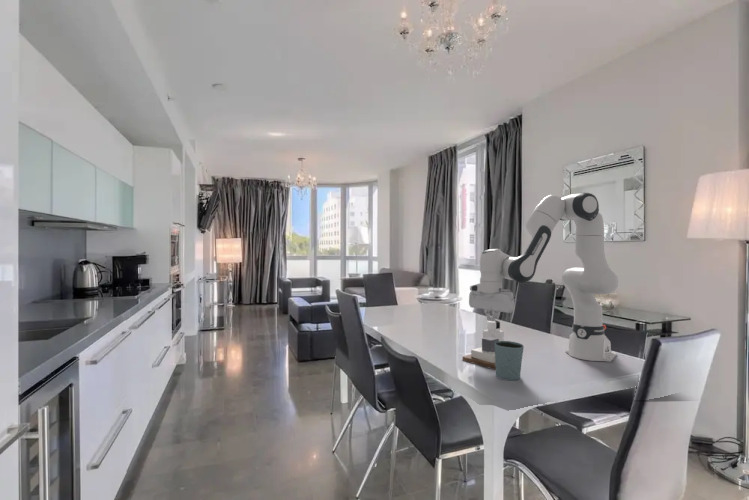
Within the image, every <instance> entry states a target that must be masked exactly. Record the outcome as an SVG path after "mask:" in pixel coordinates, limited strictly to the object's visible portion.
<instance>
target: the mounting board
mask: <svg viewBox="0 0 749 500" xmlns="http://www.w3.org/2000/svg"><path fill="white" fill-rule="evenodd" d="M462 361H465V362H468V363H471V364H475V365H478V366H481V367H484V368H485V367H486V368H488V369H493V370H496V367H495V363H496V362H495V363H492V362H488V361H484V360H481V359H477V358H473V357H471V353H470V354H468V355H467V354H466V355H463V356H462Z"/></svg>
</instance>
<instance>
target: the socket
mask: <svg viewBox="0 0 749 500" xmlns="http://www.w3.org/2000/svg"><path fill="white" fill-rule="evenodd" d="M470 354H471V357H473V358H477V359H481V360H484V361H488V362H492V363H495V360H496V359H495V352H486V351H482V346H481V347H477V348H473V349H471V350H470Z"/></svg>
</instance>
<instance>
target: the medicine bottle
mask: <svg viewBox="0 0 749 500" xmlns="http://www.w3.org/2000/svg"><path fill="white" fill-rule="evenodd" d="M486 321H487V322H486V329H484V330H483V331H482V338H486V337H493V338H498V339H499V341H505V339H504V338H505V331H504V330H501V322H500V321H499V320H497V319H495V321H488V320H486Z"/></svg>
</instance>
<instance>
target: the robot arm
mask: <svg viewBox="0 0 749 500" xmlns="http://www.w3.org/2000/svg"><path fill="white" fill-rule="evenodd" d="M599 206H600V205H599V201H598V198H597V197H596V195H594V194H593V193H589V192H580V193H570V194H569V195H566V196H561V197H560V196H558V195H556V194H549V195H547V196H545V197H544V198H543V199H542V200H541V201H540V202H539V203H538V204H537V205H536V207H535V208H534V209H533V211H532V212H531V213H530V215H529V216H528V218H527V220H526V222H525V228H526V231H527V232H528V234H530V235H531V239H530V241H529V243H528V245H527V246H526V248H525V250H524V252H523V253H522V254H521V255H519V256H511V255H509V254H507V253H505V252H503V251H502V250H501V249H500V248H490V249H485V250H483V251H482V252H481V254H480V258H479V259H480V260H479V271H480V278H479V283H476V284H473V285H470V286H469V290H470V292H469V296H468V305H469V307H470V308H472V309H473V308H474V309H477V310H478V309H480V310H484V314H485V316H486V321H495V320H496V316H497V315H498V314H499V313H498V312H501V313H507V314H511V313H514V312H515V300H514V292H513V291H512V290H511V289H505V288H503V279H506V280H510V281H515V282H517V283H522V284H523V283H528V282H530V280H532V279H533V278H534V276H535V273H536V271H537V267H538V266H537V265H538V263H539V261H540V258H541V256H542V255H543V253H544V251H545V249H546V248H547V246H548V244H549V242H550V239H551V237H552V233H553V231H554V229H555V227H556V226H557V224H558V223H559V221H574V223H575V226H576V227H575V239H574V241H575V242H574V243H575V245H574V247H575V250H574V252H575V255H576V257H578V258H579V259H580V260H581V263H582V265H583V267H581V266H575V267H574V266H573V267H570V268H567V269H566V270H565V271H563V273H562V276H561V281H562V285H563V286H564V287H565V288H566V289H567V291H568V292H569V295H570V297H571V300H572V307H573V323H572V326H571V327H572V333H571V334H569V338H568V339H569V340H568V349H565V353H566V354H569V356H570V357H572V358H575V359H579V360H583V361H593V362H612V361H613V360H614V359H615V358H616V357H617V356H618V354H617V352H615V351H612V349H611V348H612V347H611V346H612V344H611V341H610V340H609V338H608V337H607V336H606V335H605V330H606V329H607V325H605V324H603V318H604V317H603V316H604V315H603V307H602V305H601V304H600V303H599V302H598V301H597V299H596V297H595V295H610V294H612V293H615V291H616V290H617V288H618V286H619V279H618V276H617V275H616V273H615V272H614V271H613V270H612V269H611V268H610V267H609V264H608V262H607V258H606V256H605V225H604V219H603V215H602V214H601V213H600V212H599V210H600V207H599ZM490 313H491V314H492V315H491V314H490Z"/></svg>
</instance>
